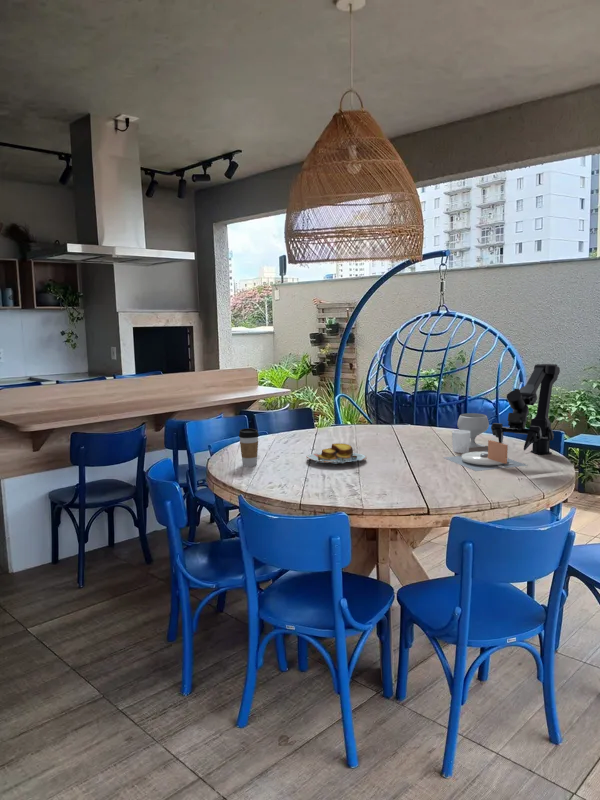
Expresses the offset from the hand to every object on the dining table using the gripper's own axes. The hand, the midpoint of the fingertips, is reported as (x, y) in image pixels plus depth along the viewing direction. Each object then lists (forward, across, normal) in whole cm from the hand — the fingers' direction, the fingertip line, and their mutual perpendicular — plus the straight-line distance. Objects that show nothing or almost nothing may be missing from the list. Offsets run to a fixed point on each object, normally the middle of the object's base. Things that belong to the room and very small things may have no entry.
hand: (512, 448), depth 242 cm
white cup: (-7, -26, +19) cm, 33 cm away
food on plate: (+20, -68, -7) cm, 72 cm away
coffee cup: (+36, -97, -24) cm, 106 cm away
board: (+3, -12, +9) cm, 15 cm away
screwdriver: (-13, -15, +25) cm, 32 cm away
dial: (+2, -12, +8) cm, 15 cm away
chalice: (-17, -25, +30) cm, 43 cm away
